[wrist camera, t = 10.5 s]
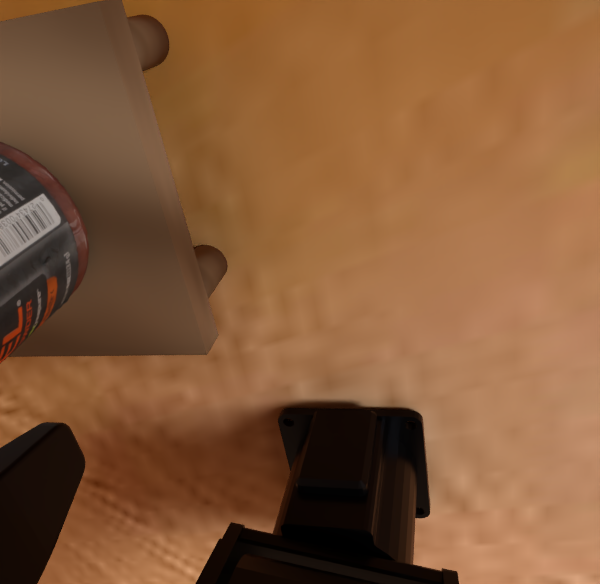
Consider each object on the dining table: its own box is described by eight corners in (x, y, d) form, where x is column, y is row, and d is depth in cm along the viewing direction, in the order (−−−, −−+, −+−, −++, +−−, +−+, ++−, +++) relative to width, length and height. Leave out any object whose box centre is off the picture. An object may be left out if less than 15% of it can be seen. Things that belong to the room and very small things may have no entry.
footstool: (245, 289, 23) (207, 354, 19) (23, 298, 26) (-47, 357, 22) (170, -10, 18) (98, 1, 14) (-97, 45, 21) (-215, 65, 17)
